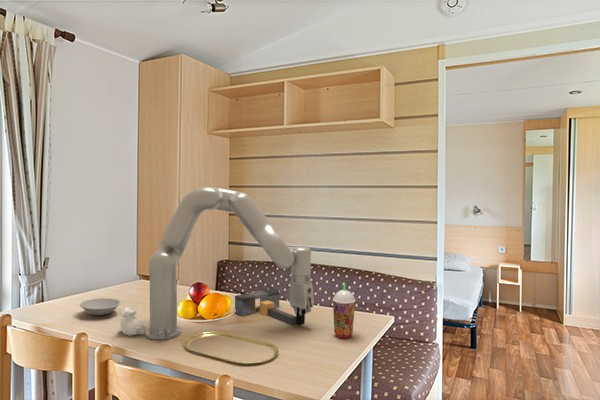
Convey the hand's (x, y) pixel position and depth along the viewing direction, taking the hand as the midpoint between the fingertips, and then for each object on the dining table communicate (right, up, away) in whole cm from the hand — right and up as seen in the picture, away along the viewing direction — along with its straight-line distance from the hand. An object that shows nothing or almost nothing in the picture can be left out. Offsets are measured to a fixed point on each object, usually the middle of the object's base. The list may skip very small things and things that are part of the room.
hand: (300, 324), depth 161 cm
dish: (-84, 0, +11) cm, 85 cm away
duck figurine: (-62, -1, -10) cm, 63 cm away
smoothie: (+16, -2, -9) cm, 18 cm away
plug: (-9, -1, +10) cm, 14 cm away
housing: (-19, 0, +21) cm, 28 cm away
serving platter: (-24, -2, -22) cm, 33 cm away
